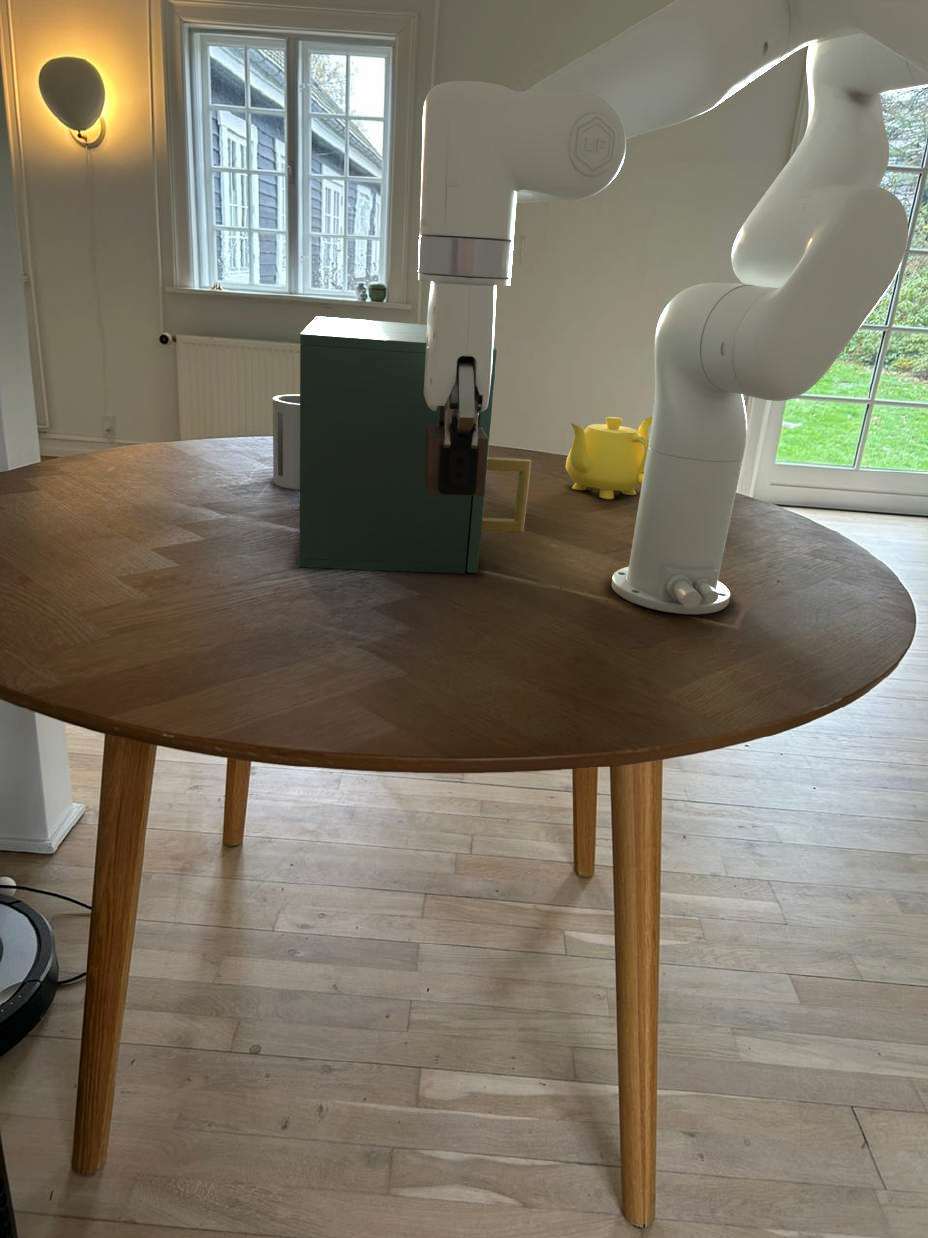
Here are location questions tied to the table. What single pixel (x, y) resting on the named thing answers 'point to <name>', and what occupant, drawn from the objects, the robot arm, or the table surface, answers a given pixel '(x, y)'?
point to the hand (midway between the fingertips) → (454, 482)
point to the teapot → (608, 457)
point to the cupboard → (371, 453)
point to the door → (477, 502)
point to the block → (433, 460)
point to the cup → (286, 441)
